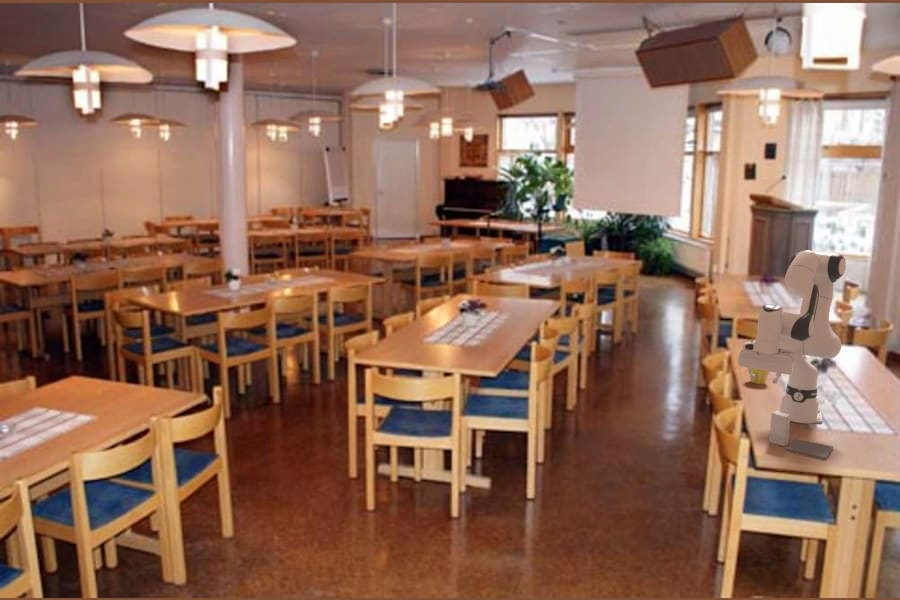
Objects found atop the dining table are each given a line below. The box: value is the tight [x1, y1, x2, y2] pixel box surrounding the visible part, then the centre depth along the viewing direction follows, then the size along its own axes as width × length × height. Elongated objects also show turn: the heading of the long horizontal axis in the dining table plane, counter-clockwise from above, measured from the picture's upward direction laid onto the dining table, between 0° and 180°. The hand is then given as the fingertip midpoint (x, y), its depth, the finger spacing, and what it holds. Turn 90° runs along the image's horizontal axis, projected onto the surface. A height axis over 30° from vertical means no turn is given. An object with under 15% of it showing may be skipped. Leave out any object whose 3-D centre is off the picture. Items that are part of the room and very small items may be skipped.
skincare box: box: [768, 410, 791, 447], centre depth 305 cm, size 6×4×12 cm
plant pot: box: [749, 369, 770, 385], centre depth 386 cm, size 10×10×10 cm
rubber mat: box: [785, 437, 834, 461], centre depth 299 cm, size 14×14×1 cm
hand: (763, 381), depth 306 cm, fingers open, 7 cm apart
